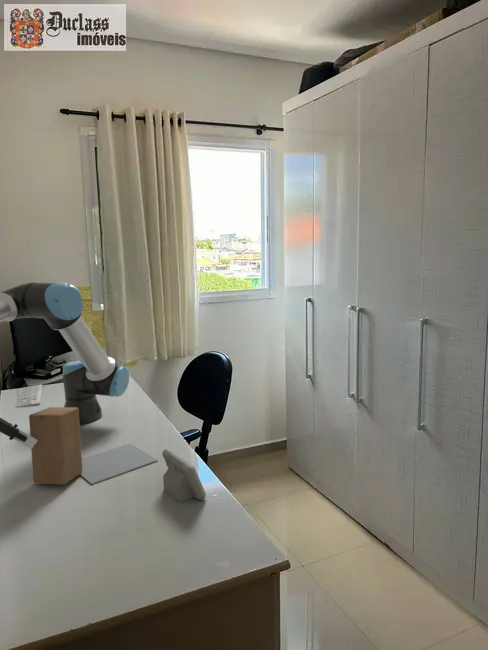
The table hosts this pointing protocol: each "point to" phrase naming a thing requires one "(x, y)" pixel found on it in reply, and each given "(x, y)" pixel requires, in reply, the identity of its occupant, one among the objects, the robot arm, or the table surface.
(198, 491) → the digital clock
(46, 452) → the wooden block
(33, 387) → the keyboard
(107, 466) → the grey mat
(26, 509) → the table surface
